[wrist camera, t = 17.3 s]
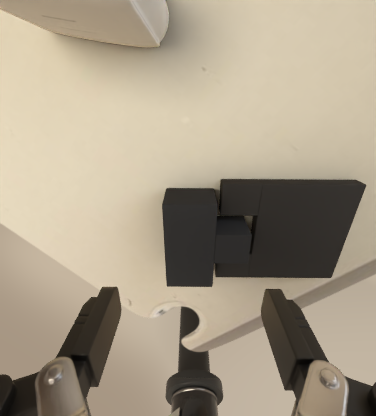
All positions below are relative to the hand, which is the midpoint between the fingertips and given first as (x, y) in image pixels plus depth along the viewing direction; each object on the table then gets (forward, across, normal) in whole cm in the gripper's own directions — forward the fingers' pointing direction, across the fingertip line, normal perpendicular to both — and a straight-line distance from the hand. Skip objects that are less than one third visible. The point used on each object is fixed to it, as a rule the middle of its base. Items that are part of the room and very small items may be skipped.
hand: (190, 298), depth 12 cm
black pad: (+13, -10, +4) cm, 17 cm away
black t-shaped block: (+13, -2, +4) cm, 14 cm away
